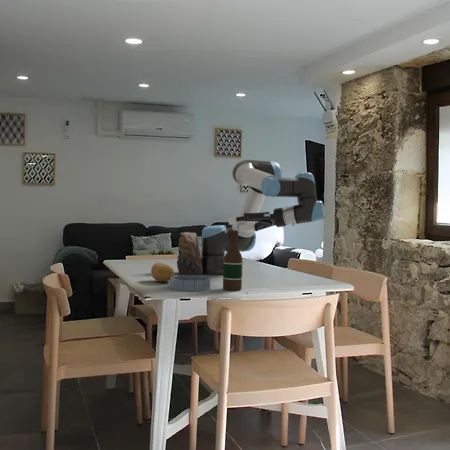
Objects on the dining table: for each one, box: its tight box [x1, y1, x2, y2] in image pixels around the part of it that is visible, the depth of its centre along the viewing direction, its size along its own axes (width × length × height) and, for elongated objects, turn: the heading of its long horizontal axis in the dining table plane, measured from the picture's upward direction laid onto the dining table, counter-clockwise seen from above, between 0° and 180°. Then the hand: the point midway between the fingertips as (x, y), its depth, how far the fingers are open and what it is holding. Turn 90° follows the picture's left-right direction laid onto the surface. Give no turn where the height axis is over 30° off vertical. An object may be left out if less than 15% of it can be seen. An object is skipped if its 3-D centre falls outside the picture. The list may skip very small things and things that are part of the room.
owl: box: [176, 231, 204, 276], centre depth 279 cm, size 13×13×20 cm
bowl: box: [169, 275, 211, 292], centre depth 232 cm, size 16×16×4 cm
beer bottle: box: [222, 230, 244, 292], centre depth 231 cm, size 8×8×24 cm
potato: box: [150, 262, 175, 283], centre depth 246 cm, size 10×14×8 cm
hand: (234, 225), depth 234 cm, fingers open, 13 cm apart
